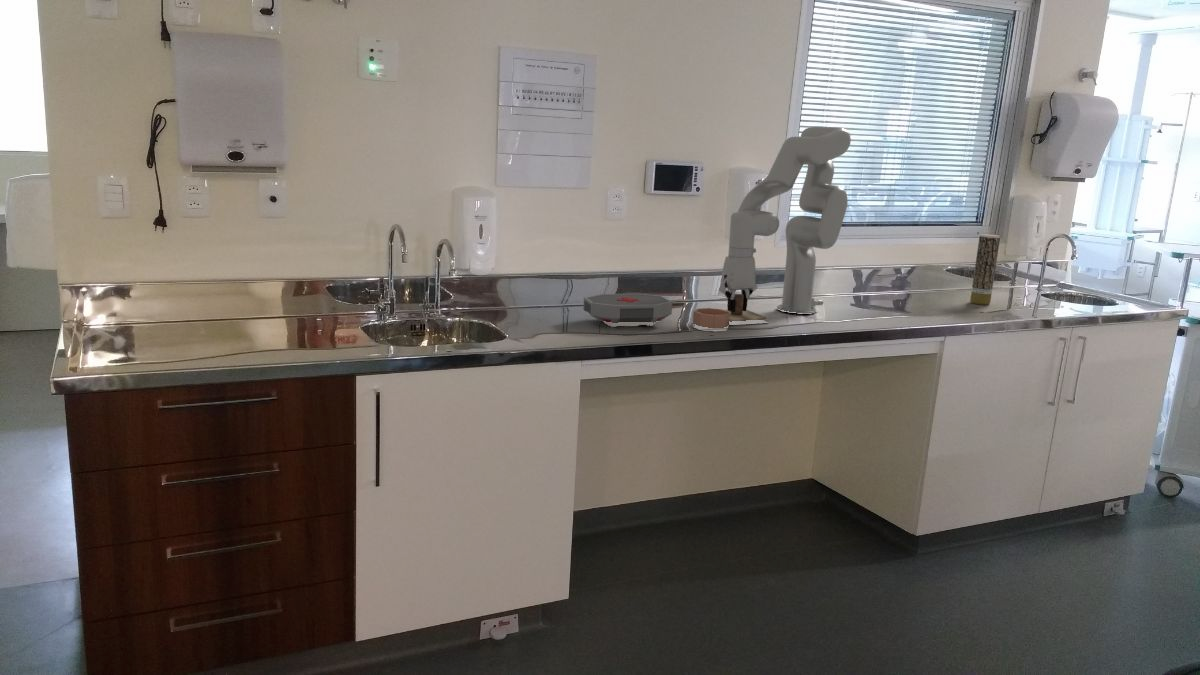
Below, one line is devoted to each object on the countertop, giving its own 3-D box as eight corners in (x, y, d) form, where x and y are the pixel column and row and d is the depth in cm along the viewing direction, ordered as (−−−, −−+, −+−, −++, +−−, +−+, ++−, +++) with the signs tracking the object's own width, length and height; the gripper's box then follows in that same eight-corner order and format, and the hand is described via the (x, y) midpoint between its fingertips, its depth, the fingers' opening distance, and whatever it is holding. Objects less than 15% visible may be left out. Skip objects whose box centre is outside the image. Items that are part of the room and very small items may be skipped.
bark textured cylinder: (993, 305, 311) (1003, 236, 305) (974, 304, 311) (984, 236, 305) (985, 302, 318) (995, 234, 312) (967, 301, 318) (976, 233, 312)
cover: (742, 310, 278) (743, 290, 276) (765, 319, 266) (767, 298, 265) (707, 313, 273) (709, 292, 271) (730, 322, 261) (731, 300, 259)
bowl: (715, 323, 263) (716, 307, 262) (733, 330, 254) (735, 314, 253) (687, 325, 259) (688, 309, 258) (704, 332, 250) (706, 316, 249)
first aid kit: (594, 331, 246) (676, 329, 253) (595, 306, 245) (677, 304, 252) (579, 318, 263) (656, 316, 270) (580, 294, 261) (657, 293, 268)
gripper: (756, 250, 271) (752, 306, 276) (711, 252, 264) (707, 310, 269) (770, 253, 265) (765, 311, 269) (724, 255, 258) (720, 315, 262)
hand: (736, 310), depth 269 cm, fingers closed on cover, 3 cm apart
